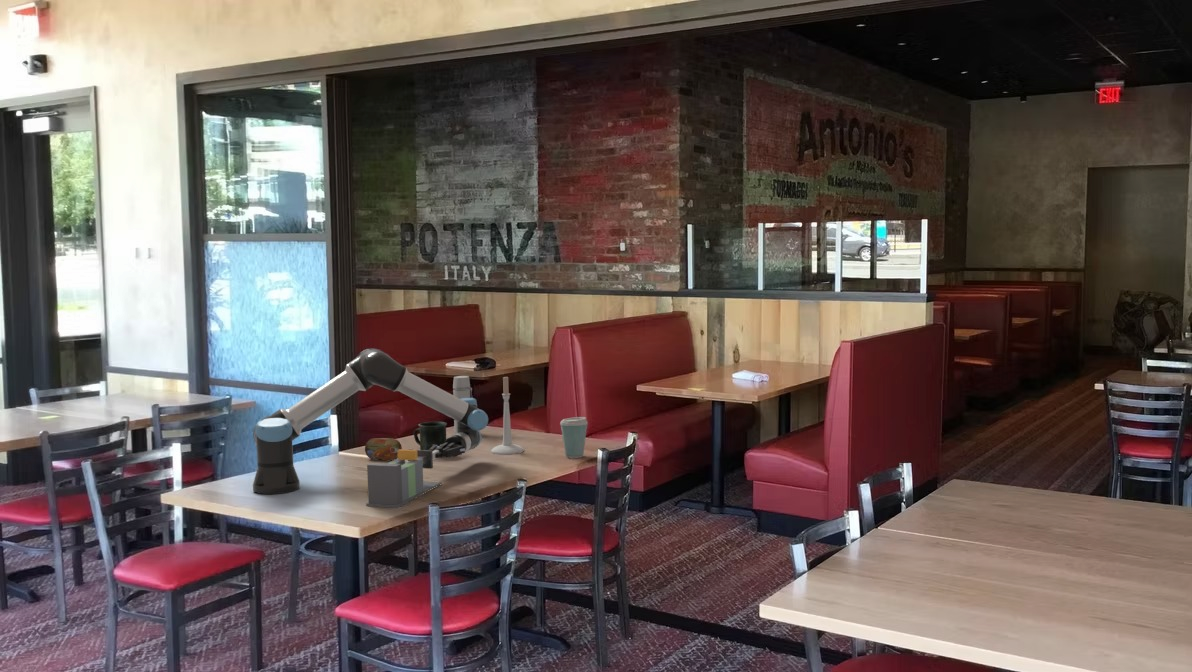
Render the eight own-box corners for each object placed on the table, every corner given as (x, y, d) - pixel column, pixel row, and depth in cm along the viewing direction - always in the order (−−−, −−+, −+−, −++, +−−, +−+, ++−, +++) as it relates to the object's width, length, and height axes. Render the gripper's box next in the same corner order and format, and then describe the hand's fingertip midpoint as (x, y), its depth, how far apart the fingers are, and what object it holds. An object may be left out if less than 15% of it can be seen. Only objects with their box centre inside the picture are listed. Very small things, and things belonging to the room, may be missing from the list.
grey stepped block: (412, 483, 352) (411, 445, 351) (441, 484, 349) (440, 447, 347) (366, 505, 321) (364, 465, 320) (398, 507, 318) (396, 466, 317)
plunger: (416, 467, 349) (416, 442, 348) (432, 467, 347) (432, 443, 347) (393, 478, 333) (392, 452, 332) (409, 479, 331) (408, 453, 330)
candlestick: (496, 447, 412) (494, 374, 409) (527, 448, 410) (525, 374, 407) (487, 454, 399) (485, 378, 397) (519, 454, 397) (517, 378, 395)
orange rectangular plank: (400, 458, 338) (399, 449, 337) (417, 459, 336) (417, 450, 336) (397, 459, 336) (397, 450, 336) (415, 460, 334) (415, 451, 334)
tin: (364, 459, 393) (364, 438, 393) (369, 458, 396) (368, 436, 396) (399, 461, 389) (398, 439, 388) (403, 459, 392) (402, 438, 391)
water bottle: (454, 435, 440) (452, 378, 438) (454, 432, 448) (453, 376, 446) (475, 435, 441) (473, 377, 439) (475, 431, 449) (474, 375, 447)
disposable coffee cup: (560, 459, 386) (559, 420, 385) (560, 454, 397) (559, 416, 395) (588, 459, 386) (587, 419, 385) (588, 453, 397) (587, 415, 396)
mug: (437, 457, 394) (436, 427, 393) (406, 454, 401) (405, 424, 400) (453, 452, 404) (452, 422, 403) (423, 449, 411) (422, 420, 410)
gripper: (473, 455, 372) (446, 469, 350) (441, 454, 376) (412, 467, 353) (473, 435, 371) (446, 447, 349) (440, 434, 375) (411, 446, 353)
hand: (429, 457), depth 351 cm, fingers closed
